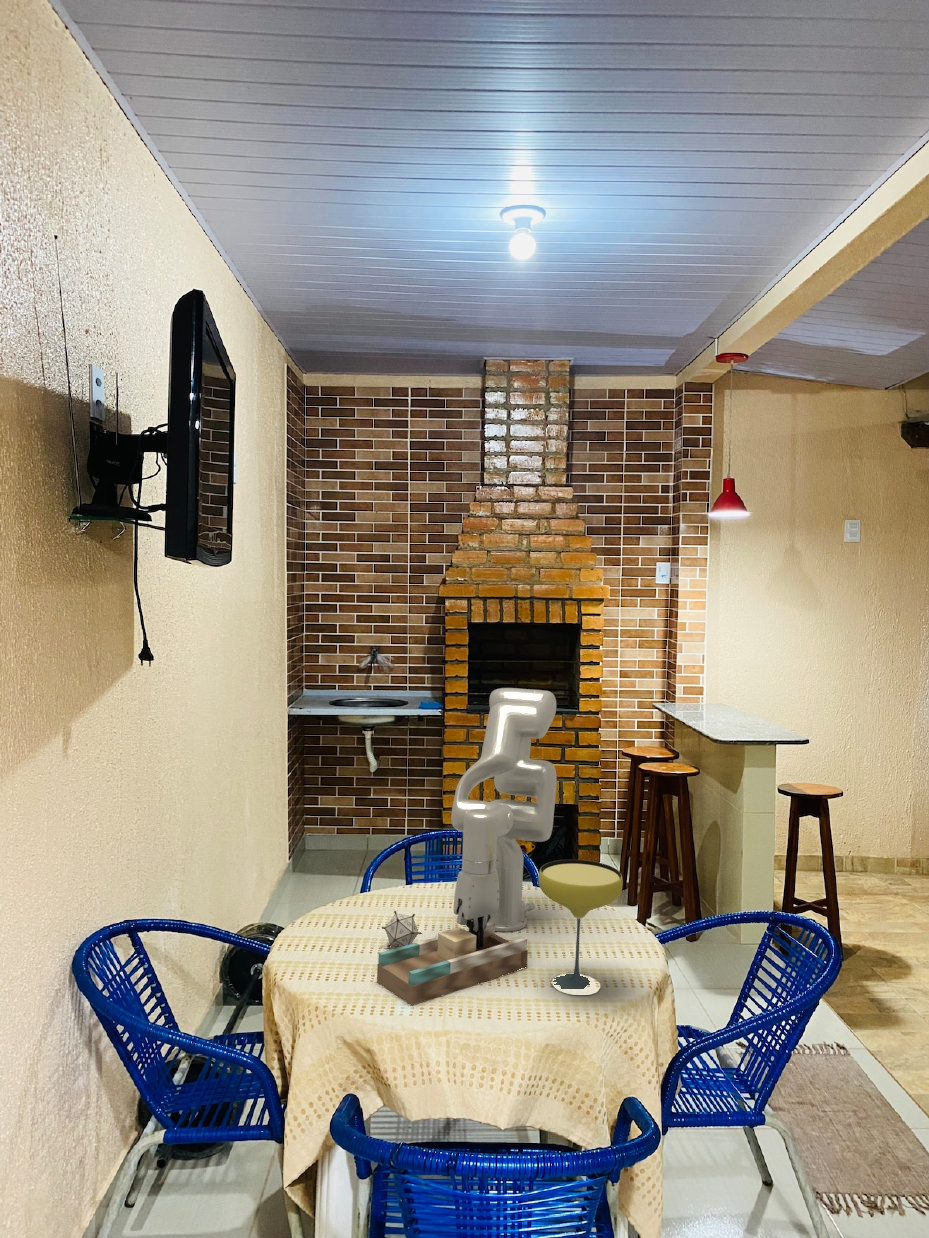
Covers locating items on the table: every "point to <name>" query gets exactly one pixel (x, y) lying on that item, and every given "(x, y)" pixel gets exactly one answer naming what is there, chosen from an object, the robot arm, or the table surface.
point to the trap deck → (447, 967)
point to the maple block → (455, 943)
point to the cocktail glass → (579, 897)
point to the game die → (401, 930)
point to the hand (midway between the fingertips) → (475, 945)
